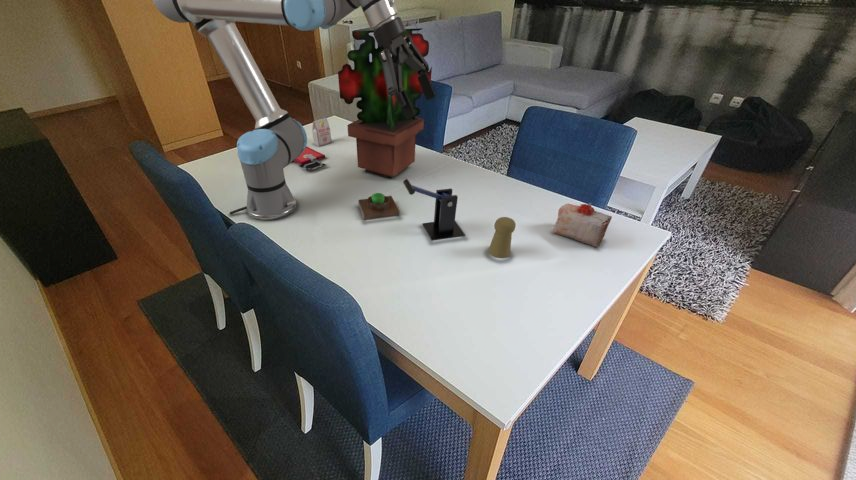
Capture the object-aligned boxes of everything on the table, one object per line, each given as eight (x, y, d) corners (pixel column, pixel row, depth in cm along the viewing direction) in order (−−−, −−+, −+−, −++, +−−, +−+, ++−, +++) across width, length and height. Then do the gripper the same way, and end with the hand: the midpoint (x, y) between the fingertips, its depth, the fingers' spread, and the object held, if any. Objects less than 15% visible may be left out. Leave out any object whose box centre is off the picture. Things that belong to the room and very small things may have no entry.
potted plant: (425, 165, 149) (434, 27, 120) (396, 187, 135) (397, 37, 106) (378, 153, 158) (375, 23, 129) (346, 173, 144) (334, 31, 115)
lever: (407, 195, 99) (411, 186, 98) (401, 184, 103) (405, 176, 102) (452, 209, 105) (456, 201, 104) (444, 199, 109) (448, 191, 108)
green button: (373, 204, 118) (372, 199, 117) (370, 198, 121) (370, 193, 120) (385, 203, 118) (385, 198, 117) (382, 197, 121) (382, 192, 120)
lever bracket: (431, 243, 109) (434, 203, 101) (422, 226, 116) (424, 187, 107) (464, 238, 111) (470, 198, 102) (453, 222, 117) (458, 183, 109)
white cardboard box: (313, 144, 167) (310, 120, 161) (326, 140, 170) (324, 116, 164) (318, 146, 165) (315, 122, 158) (331, 142, 168) (329, 118, 162)
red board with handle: (303, 174, 143) (336, 163, 151) (302, 167, 141) (335, 156, 149) (264, 152, 160) (295, 144, 168) (262, 146, 158) (294, 137, 166)
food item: (548, 233, 112) (557, 203, 106) (558, 222, 117) (567, 193, 110) (596, 250, 106) (609, 219, 99) (605, 238, 110) (618, 207, 104)
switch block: (364, 222, 118) (363, 210, 115) (358, 207, 125) (357, 194, 122) (399, 218, 119) (399, 205, 116) (391, 203, 127) (391, 190, 124)
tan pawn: (505, 264, 101) (514, 228, 94) (483, 256, 104) (490, 221, 97) (512, 252, 105) (521, 217, 98) (491, 245, 108) (498, 211, 101)
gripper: (372, 28, 84) (413, 120, 94) (419, 4, 99) (450, 86, 109) (348, 44, 89) (390, 130, 99) (396, 19, 104) (428, 96, 114)
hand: (421, 107), depth 104 cm, fingers open, 13 cm apart
